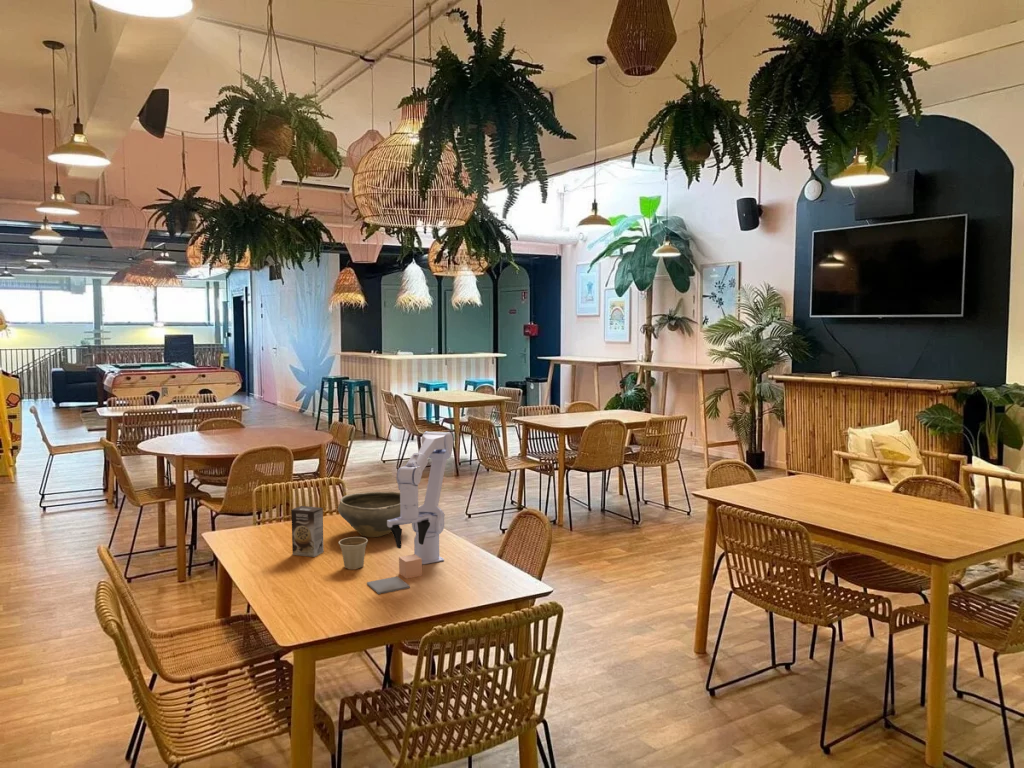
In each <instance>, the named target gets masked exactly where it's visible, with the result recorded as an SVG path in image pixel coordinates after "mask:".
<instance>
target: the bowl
mask: <svg viewBox="0 0 1024 768" xmlns="http://www.w3.org/2000/svg"><path fill="white" fill-rule="evenodd" d="M337 511H338V514H339V515H340V516H341V518H342V519H343V520H344V521H346V522H347V523H348V524H349V525H350V526H351V527H352V528H353V529H354V530H355V531H356V532H357V533H358V534H360V536H361V537H362V536H363V537H365V538H366V537H368V538H377V537H378V538H379V537H382V536H385V535H389V534H390V533H392V531H391V530H390V528H389V527H388V526H387V520H391V519H394V518H398V517H401V515H400V491H399V492H396V491H371V492H370V491H369V492H360V493H359V492H358V493H352V494H351V493H350V494H346V495H344V496H342V497H341V498H340V500H339V504H338V507H337Z"/></svg>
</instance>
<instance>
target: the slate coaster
mask: <svg viewBox="0 0 1024 768" xmlns="http://www.w3.org/2000/svg"><path fill="white" fill-rule="evenodd" d="M366 585H367V586H368V587H369V588H371V589H372V590H373V591H374V592H375V591H376V592H377V593H376V594H377V595H381V593H383V594H386V593H387V594H388V593H391V592H396V590H397V591H401V589H402V590H406V588H407V589H410V585H409V584H408V583H407V582H405V581H404V580H403V579H401V577H399V576H393V577H386V578H381V579H376V580H372V581H367V582H366Z"/></svg>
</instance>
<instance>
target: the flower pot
mask: <svg viewBox="0 0 1024 768" xmlns="http://www.w3.org/2000/svg"><path fill="white" fill-rule="evenodd" d="M368 541H369V540H368V539H367V538H366V537H364V536H363V537H362V536H353V537H352V536H351V537H345V538H342V539H340V540H339V541H338V545H339V549H340V550H341V554H342V560H343V567H344V568H345V569H348V570H358V569H360V568H363V567H364V564H365V556H366V555H365V553H366V547H367V544H368Z"/></svg>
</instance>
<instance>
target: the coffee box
mask: <svg viewBox="0 0 1024 768" xmlns="http://www.w3.org/2000/svg"><path fill="white" fill-rule="evenodd" d="M290 510H291V544H292V545H291V547H292V550H291V551H292V552H291V553H292V555H293V556H302V557H311V558H312V557H314V558H316V557H317V556H319V555H321V554H323V553H324V508H323V507H316V506H306V505H301V506H298V507H297V506H296V507H294V508H293V509H290Z"/></svg>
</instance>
